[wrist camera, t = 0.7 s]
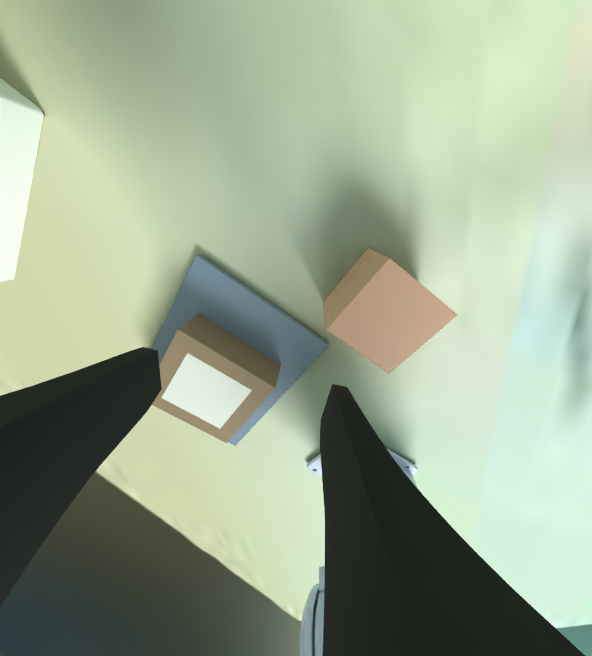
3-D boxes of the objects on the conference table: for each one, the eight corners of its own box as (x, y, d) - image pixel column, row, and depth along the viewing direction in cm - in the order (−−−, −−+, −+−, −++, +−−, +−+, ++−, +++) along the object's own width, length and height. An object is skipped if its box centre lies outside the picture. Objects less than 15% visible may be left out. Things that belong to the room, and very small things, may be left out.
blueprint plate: (327, 342, 19) (330, 367, 16) (237, 440, 25) (225, 474, 22) (200, 254, 17) (171, 263, 13) (135, 387, 23) (104, 415, 20)
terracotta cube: (418, 289, 17) (457, 314, 12) (370, 336, 19) (388, 373, 14) (368, 247, 16) (389, 258, 11) (323, 301, 18) (326, 330, 13)
